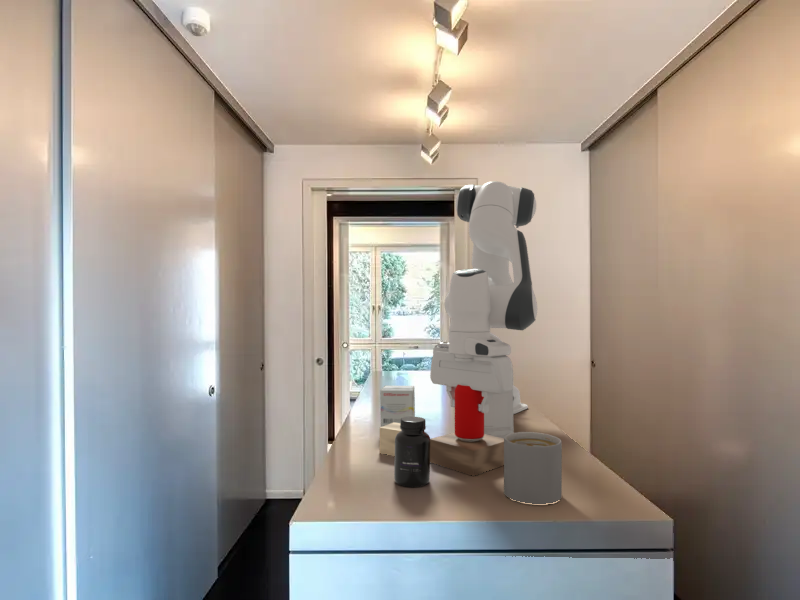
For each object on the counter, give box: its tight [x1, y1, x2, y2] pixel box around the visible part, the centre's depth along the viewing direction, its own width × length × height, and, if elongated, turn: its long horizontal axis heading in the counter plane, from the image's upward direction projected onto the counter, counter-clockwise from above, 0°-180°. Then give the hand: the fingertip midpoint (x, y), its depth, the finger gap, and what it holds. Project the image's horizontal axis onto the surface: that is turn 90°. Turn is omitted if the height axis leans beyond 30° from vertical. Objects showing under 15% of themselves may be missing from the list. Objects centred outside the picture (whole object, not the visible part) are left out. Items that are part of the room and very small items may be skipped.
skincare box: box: [484, 389, 515, 438], centre depth 132 cm, size 8×6×15 cm
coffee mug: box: [503, 431, 563, 504], centre depth 95 cm, size 13×10×10 cm
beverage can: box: [454, 384, 484, 442], centre depth 111 cm, size 6×6×12 cm
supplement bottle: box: [393, 416, 431, 488], centre depth 100 cm, size 7×7×12 cm
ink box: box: [379, 385, 416, 427], centre depth 138 cm, size 9×9×12 cm
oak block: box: [379, 422, 401, 457], centre depth 119 cm, size 6×6×6 cm
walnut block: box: [430, 432, 504, 477], centre depth 111 cm, size 12×12×5 cm
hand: (469, 409), depth 111 cm, fingers closed on beverage can, 6 cm apart
